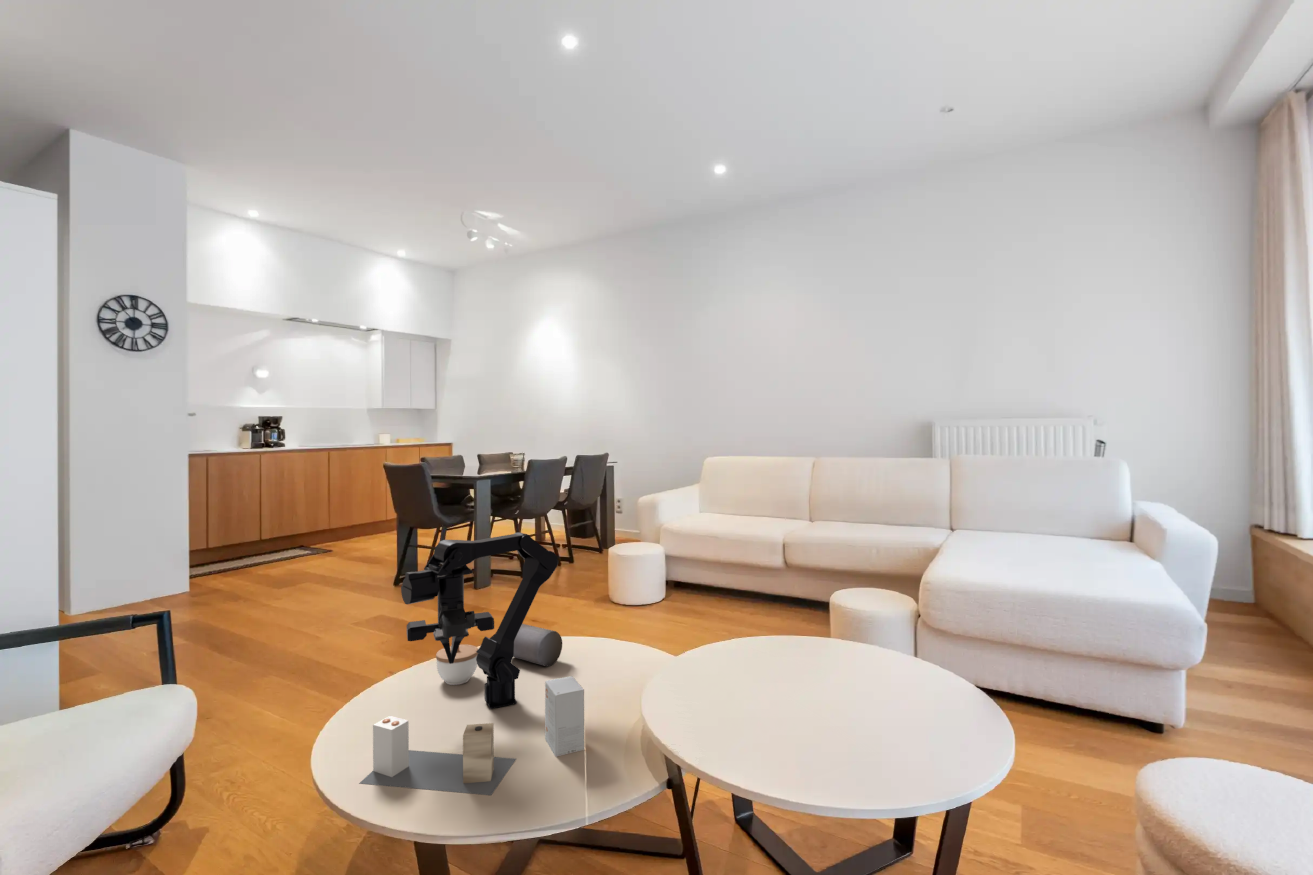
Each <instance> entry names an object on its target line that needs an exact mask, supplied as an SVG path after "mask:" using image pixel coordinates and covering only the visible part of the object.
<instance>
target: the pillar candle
mask: <svg viewBox="0 0 1313 875" xmlns="http://www.w3.org/2000/svg"><path fill="white" fill-rule="evenodd" d="M562 650H563V638H562V636H561V634H560V633H559V632H557V631H556V630H552V629H548V628H544V627H543V628H542V627H538V626H533V625H530V624H526V623H522V625H521V627H520V629H519V631H518V634H517V636H516V638H515V640H514V655H513V658H516V659H518V660H523V661H526V662H529V663H533V664H537V665H539V666H544V667H551V666H552V665H554V664H555V663H556V662H557V661H558V659H560V656H561V653H562Z"/></svg>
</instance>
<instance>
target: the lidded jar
mask: <svg viewBox="0 0 1313 875" xmlns="http://www.w3.org/2000/svg"><path fill="white" fill-rule="evenodd" d="M478 649H479V648H478V647H477V646H475V645H472V644H460V645H459V648H458V650H457V653H456V656H455V659H454V662H453V663H451V664H450V663H449V660H448V657H447V655H446V652H445V649H444V647H443V648H441V649H439V650H438V651H437V652H436V654H435V659H436V669H437V670H436V671H437V674H438V675H439V678H441V680H443V681H444V682H445V684H446V685H449V686H459V685H463V684H465V683H467V682H469V681H470V678H472V676H474V674H475V672H476V670H477V667H478V665H477V661H476V657H477V655H478V653H477V652H476V651H477V650H478ZM450 650H451V645H450Z"/></svg>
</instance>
